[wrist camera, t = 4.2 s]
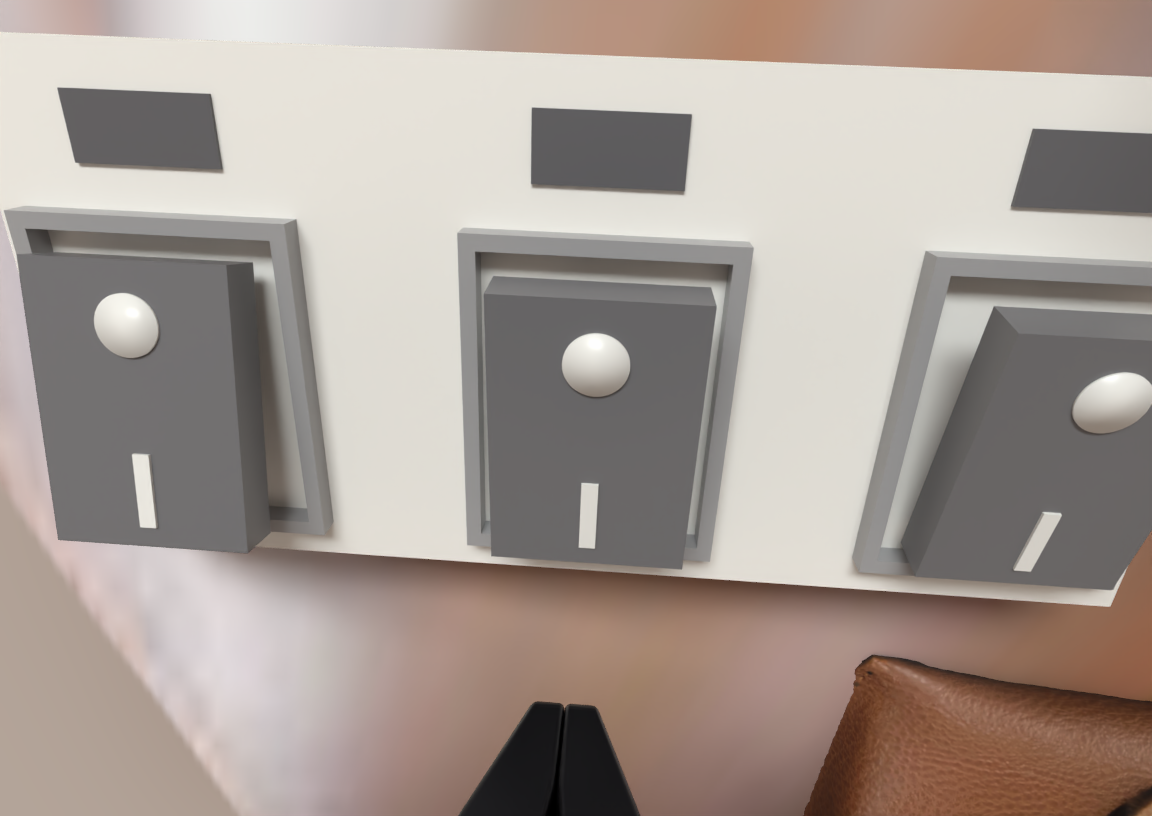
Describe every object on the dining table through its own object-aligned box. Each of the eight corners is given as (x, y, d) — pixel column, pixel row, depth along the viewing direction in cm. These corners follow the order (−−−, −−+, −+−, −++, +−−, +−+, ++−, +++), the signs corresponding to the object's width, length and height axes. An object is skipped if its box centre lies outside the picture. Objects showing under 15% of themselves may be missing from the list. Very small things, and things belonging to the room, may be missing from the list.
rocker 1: (253, 262, 13) (224, 265, 12) (270, 533, 14) (245, 554, 13) (56, 252, 13) (13, 254, 12) (92, 520, 14) (55, 541, 13)
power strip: (1501, 95, 13) (1774, 99, 10) (1266, 541, 18) (1408, 643, 14) (75, 40, 15) (-79, 28, 11) (172, 469, 19) (79, 549, 16)
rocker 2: (1231, 318, 11) (1276, 349, 10) (1087, 555, 14) (1113, 592, 13) (993, 305, 11) (1020, 334, 10) (900, 542, 14) (916, 578, 13)
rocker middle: (711, 287, 12) (717, 307, 11) (679, 539, 14) (682, 571, 13) (493, 276, 12) (483, 295, 11) (498, 527, 14) (490, 558, 14)
